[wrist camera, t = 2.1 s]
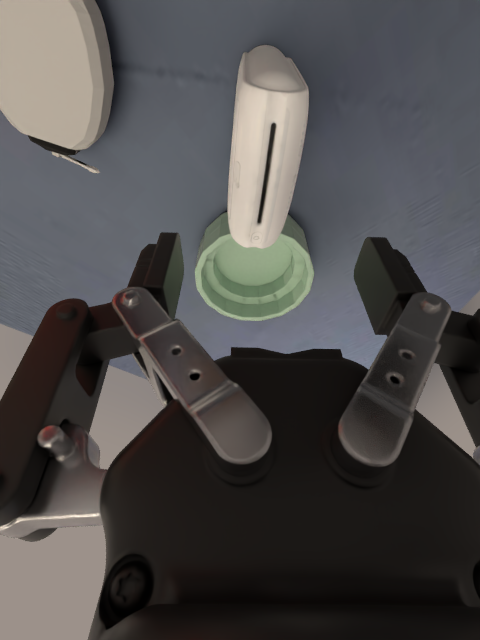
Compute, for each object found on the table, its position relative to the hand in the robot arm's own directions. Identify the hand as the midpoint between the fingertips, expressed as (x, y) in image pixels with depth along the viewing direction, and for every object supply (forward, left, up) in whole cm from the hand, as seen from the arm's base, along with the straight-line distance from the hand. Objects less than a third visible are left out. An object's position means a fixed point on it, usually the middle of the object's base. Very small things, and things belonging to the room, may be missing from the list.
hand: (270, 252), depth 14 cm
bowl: (+13, 0, -19) cm, 23 cm away
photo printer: (0, 0, -19) cm, 19 cm away
